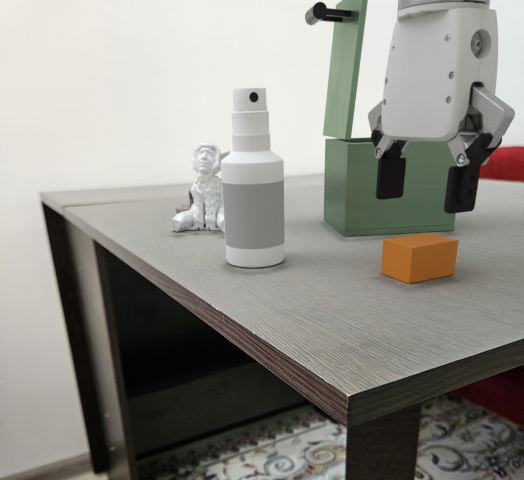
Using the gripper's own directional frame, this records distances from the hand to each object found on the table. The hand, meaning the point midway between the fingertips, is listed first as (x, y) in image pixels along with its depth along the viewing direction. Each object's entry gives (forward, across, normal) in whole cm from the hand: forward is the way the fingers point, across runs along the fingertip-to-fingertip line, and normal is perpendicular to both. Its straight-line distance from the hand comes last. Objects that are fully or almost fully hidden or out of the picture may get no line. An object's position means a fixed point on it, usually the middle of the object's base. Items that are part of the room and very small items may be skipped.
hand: (421, 204), depth 51 cm
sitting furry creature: (+7, +35, +9) cm, 37 cm away
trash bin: (+7, +22, -14) cm, 27 cm away
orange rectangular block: (+7, 0, 0) cm, 7 cm away
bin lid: (-13, +24, -7) cm, 28 cm away
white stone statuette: (+7, +48, +1) cm, 49 cm away
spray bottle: (+7, +14, +12) cm, 19 cm away
